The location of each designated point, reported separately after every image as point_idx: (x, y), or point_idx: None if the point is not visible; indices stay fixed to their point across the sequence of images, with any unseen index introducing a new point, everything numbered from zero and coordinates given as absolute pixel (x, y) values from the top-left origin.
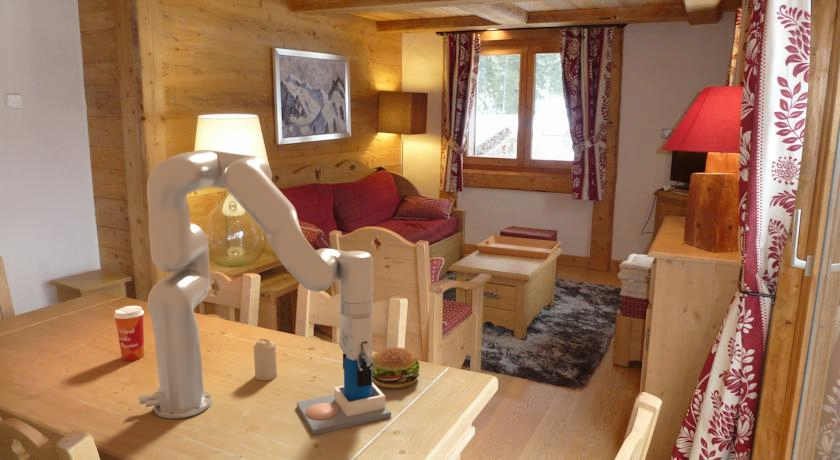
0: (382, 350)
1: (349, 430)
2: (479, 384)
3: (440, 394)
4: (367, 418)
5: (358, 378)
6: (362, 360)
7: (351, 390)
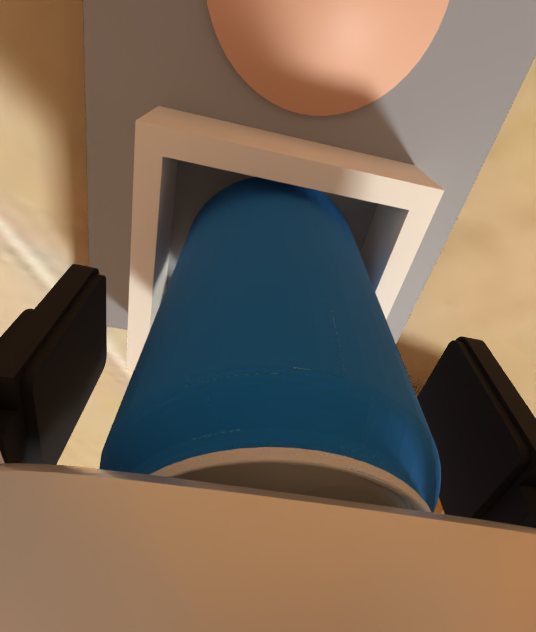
0: None
1: (54, 48)
2: None
3: None
4: (89, 201)
5: (34, 313)
6: None
7: (213, 231)
